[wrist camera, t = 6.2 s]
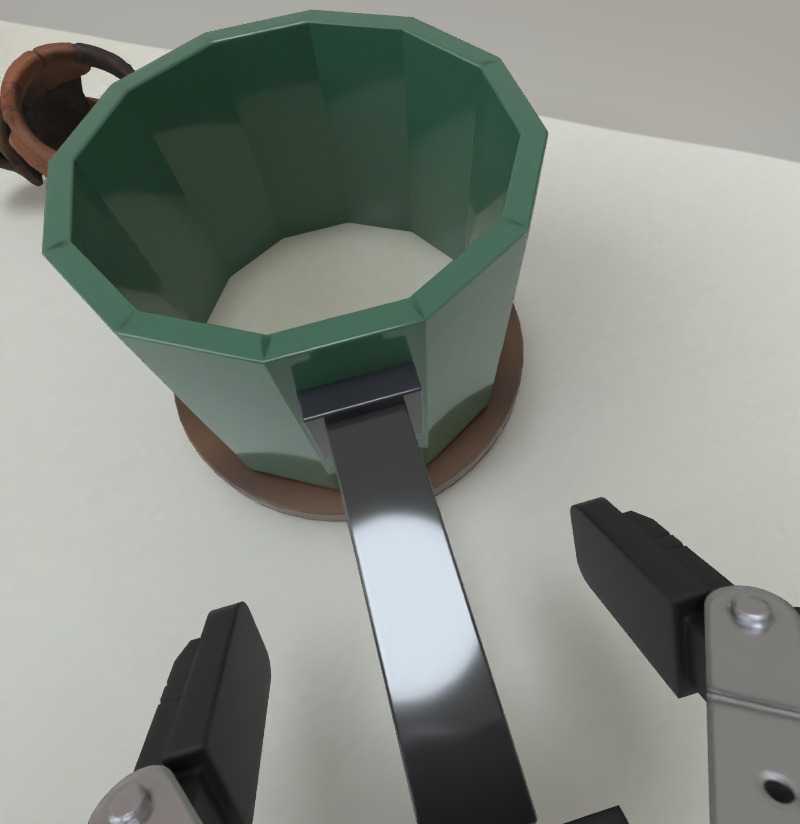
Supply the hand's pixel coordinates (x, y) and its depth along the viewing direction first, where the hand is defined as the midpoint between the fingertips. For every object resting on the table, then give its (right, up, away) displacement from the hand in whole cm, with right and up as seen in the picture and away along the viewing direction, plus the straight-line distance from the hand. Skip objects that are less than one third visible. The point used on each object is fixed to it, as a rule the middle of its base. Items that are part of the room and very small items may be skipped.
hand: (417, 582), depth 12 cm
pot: (-2, +3, +10) cm, 10 cm away
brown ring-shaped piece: (-20, +19, +20) cm, 34 cm away
